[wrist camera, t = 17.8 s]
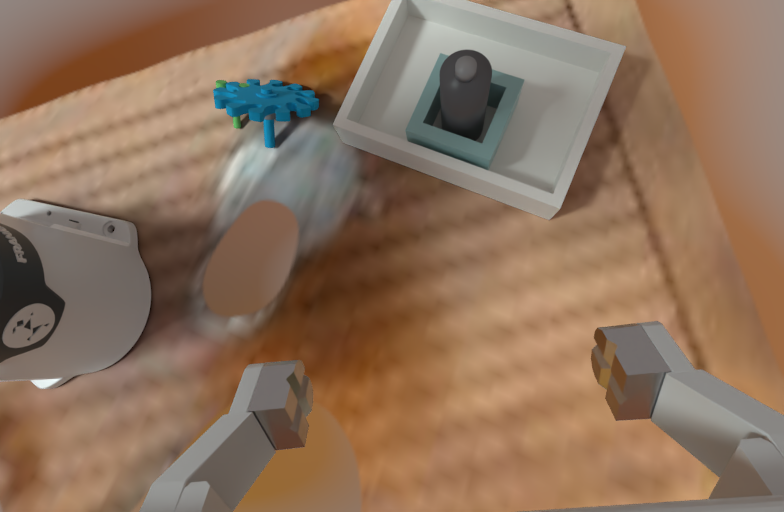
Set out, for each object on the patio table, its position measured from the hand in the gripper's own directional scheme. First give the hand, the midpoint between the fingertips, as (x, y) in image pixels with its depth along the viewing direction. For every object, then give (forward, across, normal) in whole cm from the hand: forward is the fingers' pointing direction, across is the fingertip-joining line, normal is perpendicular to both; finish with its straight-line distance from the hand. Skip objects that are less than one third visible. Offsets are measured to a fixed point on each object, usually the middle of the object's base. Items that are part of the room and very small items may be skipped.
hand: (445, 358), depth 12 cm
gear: (+38, +15, +3) cm, 41 cm away
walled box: (+35, -6, +4) cm, 36 cm away
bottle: (+33, -4, +5) cm, 34 cm away
